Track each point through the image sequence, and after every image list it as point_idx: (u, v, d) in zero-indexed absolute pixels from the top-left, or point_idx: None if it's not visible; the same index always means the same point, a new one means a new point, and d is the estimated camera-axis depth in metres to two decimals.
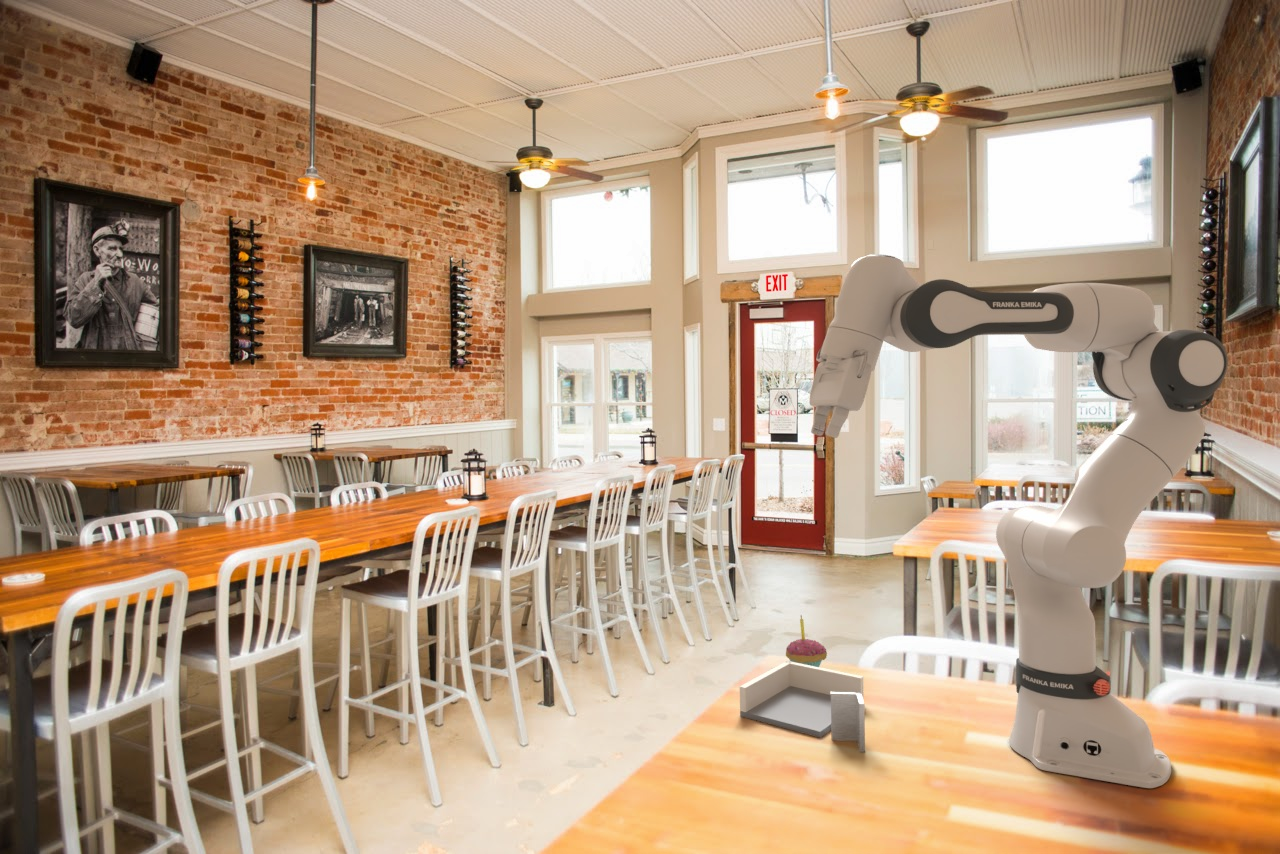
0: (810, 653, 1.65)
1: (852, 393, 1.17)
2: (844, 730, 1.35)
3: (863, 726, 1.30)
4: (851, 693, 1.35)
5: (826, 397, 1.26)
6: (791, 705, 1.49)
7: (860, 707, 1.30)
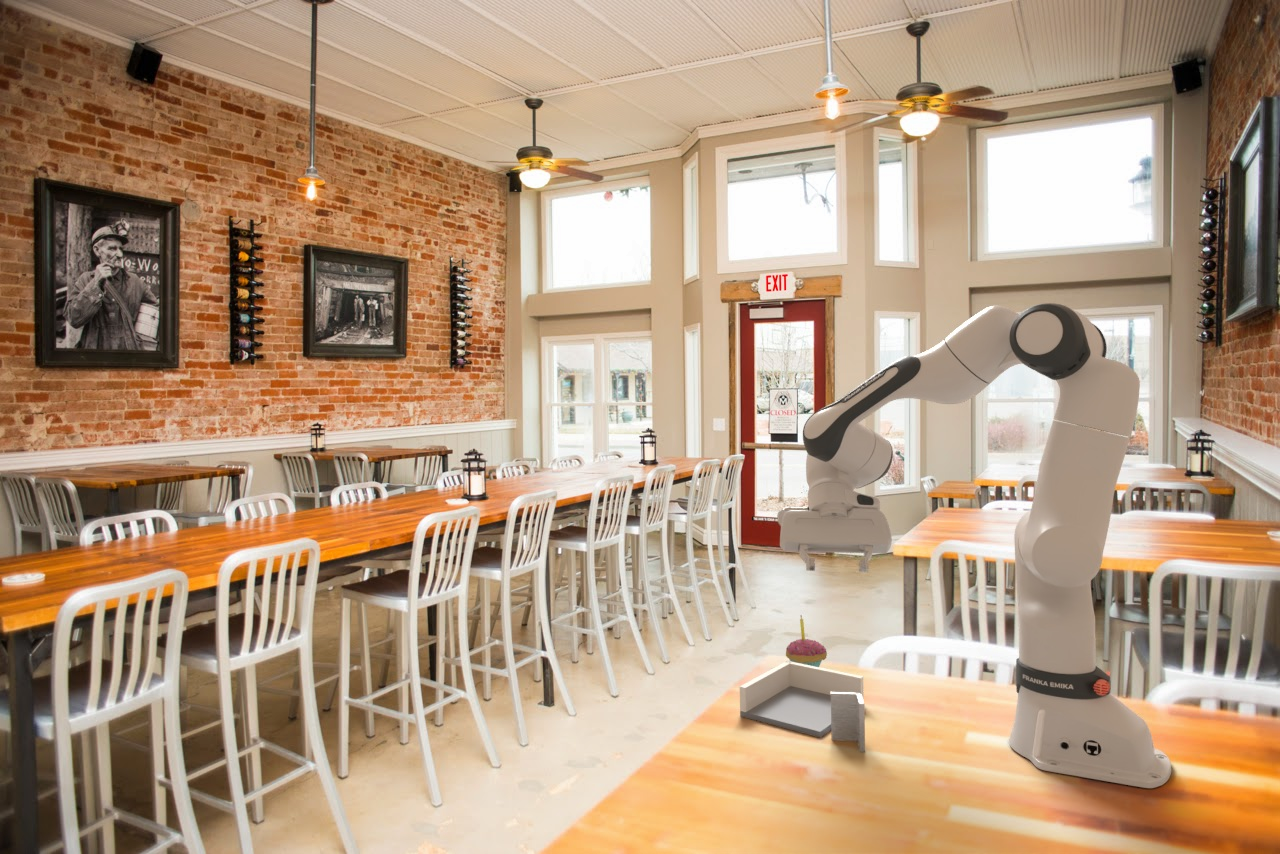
0: (810, 653, 1.65)
1: None
2: (844, 730, 1.35)
3: (863, 726, 1.30)
4: (851, 693, 1.35)
5: None
6: (791, 705, 1.49)
7: (860, 707, 1.30)
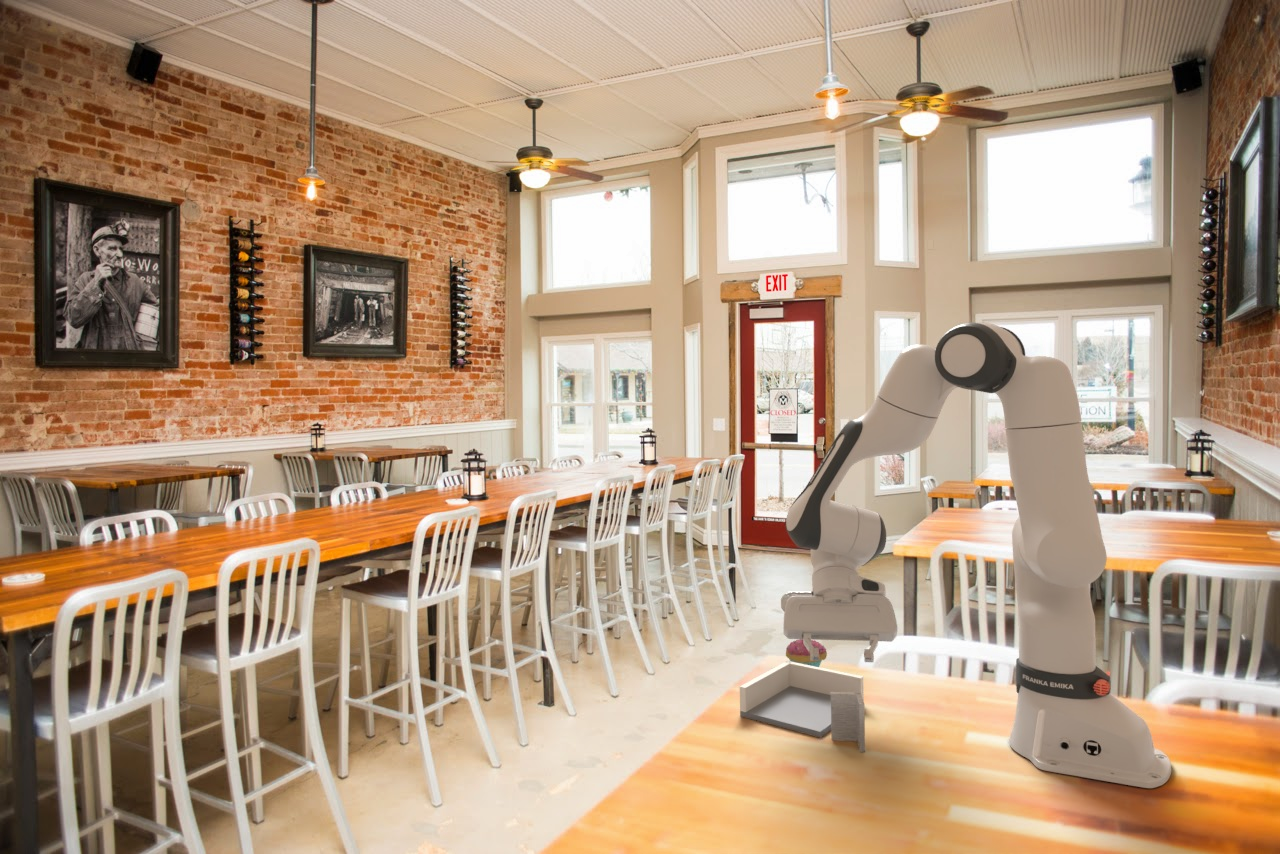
0: None
1: None
2: (844, 730, 1.35)
3: (863, 726, 1.30)
4: (851, 693, 1.35)
5: None
6: (791, 705, 1.49)
7: (860, 707, 1.30)
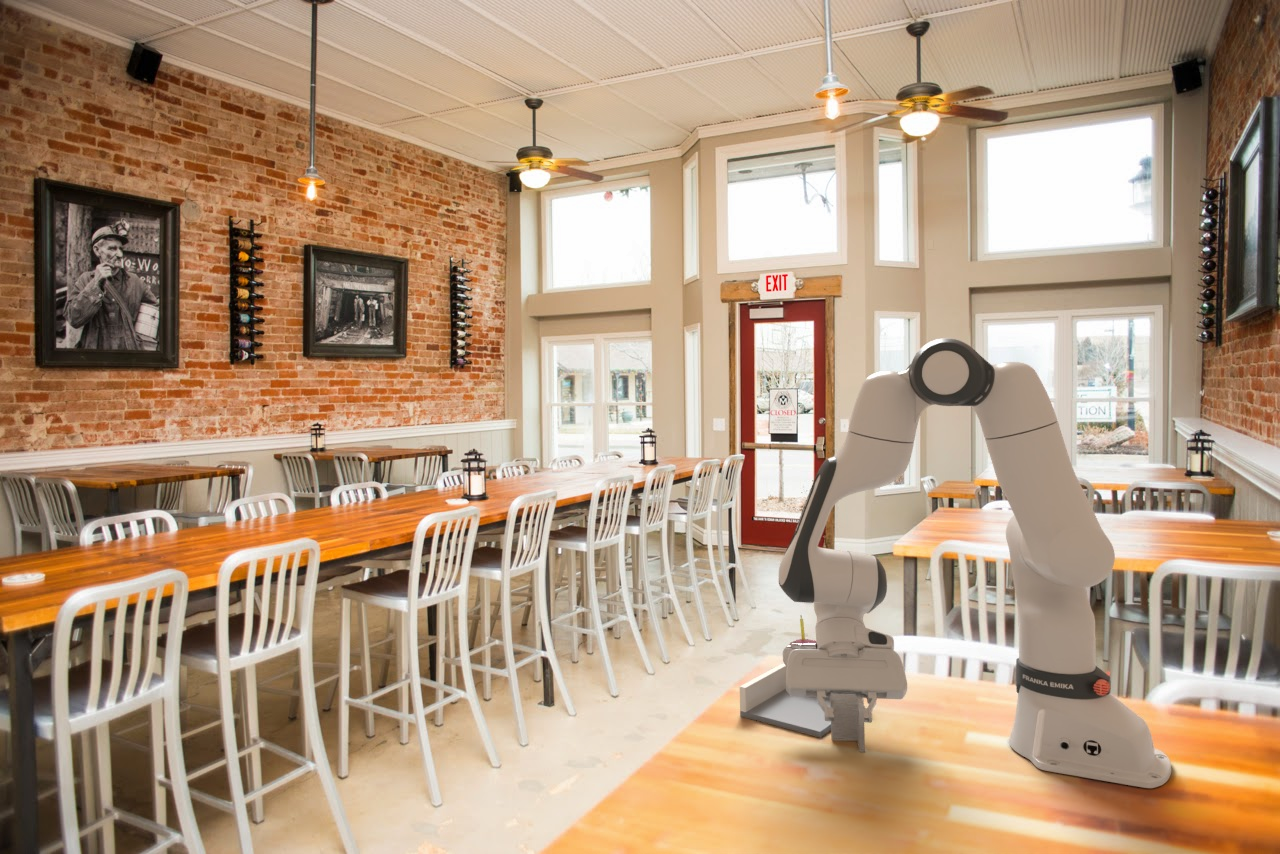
0: None
1: None
2: (844, 730, 1.35)
3: (863, 726, 1.30)
4: (850, 693, 1.35)
5: None
6: (791, 705, 1.49)
7: (859, 707, 1.30)
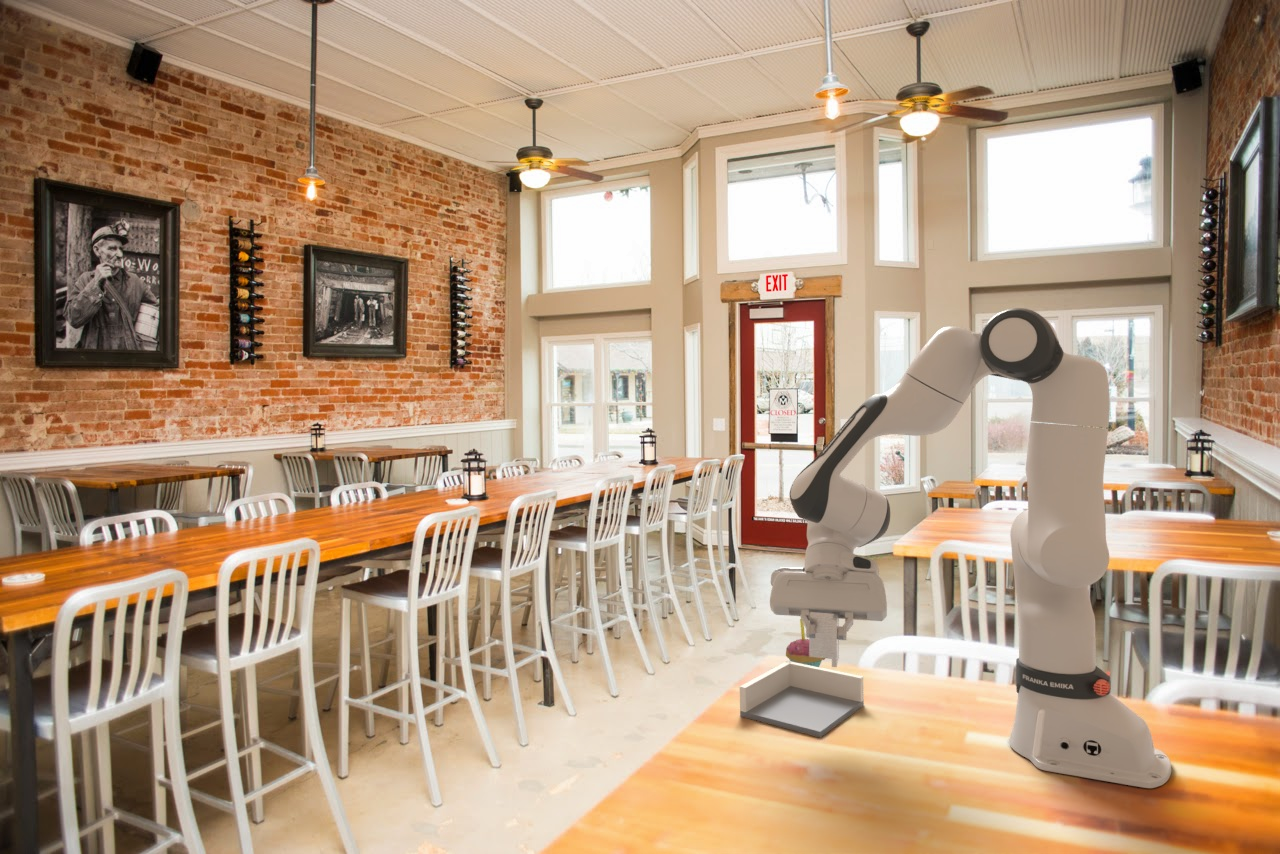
0: None
1: None
2: (821, 648, 1.40)
3: (835, 642, 1.35)
4: (829, 612, 1.40)
5: None
6: (791, 705, 1.49)
7: (833, 624, 1.35)
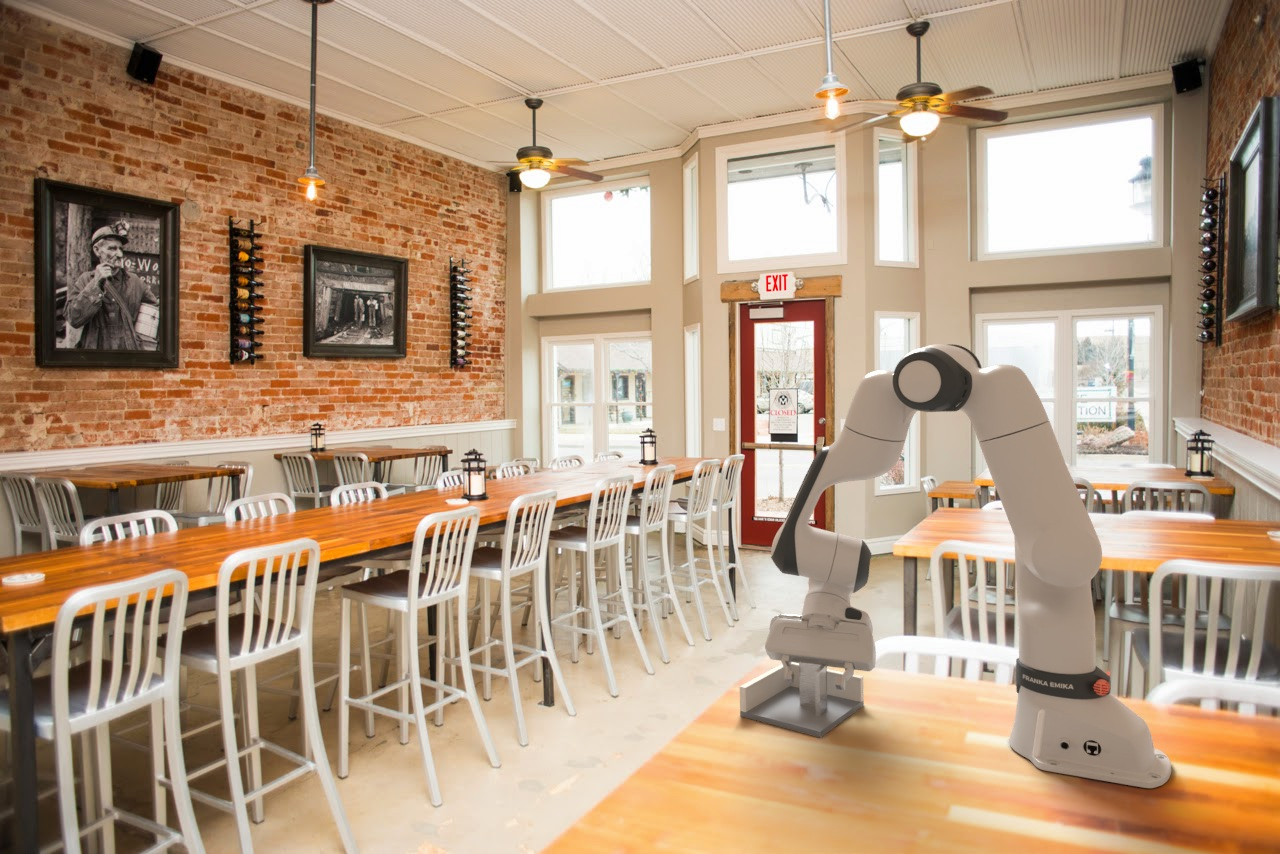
0: None
1: None
2: (810, 697, 1.48)
3: (818, 693, 1.43)
4: (817, 664, 1.47)
5: None
6: (791, 705, 1.49)
7: (815, 675, 1.43)
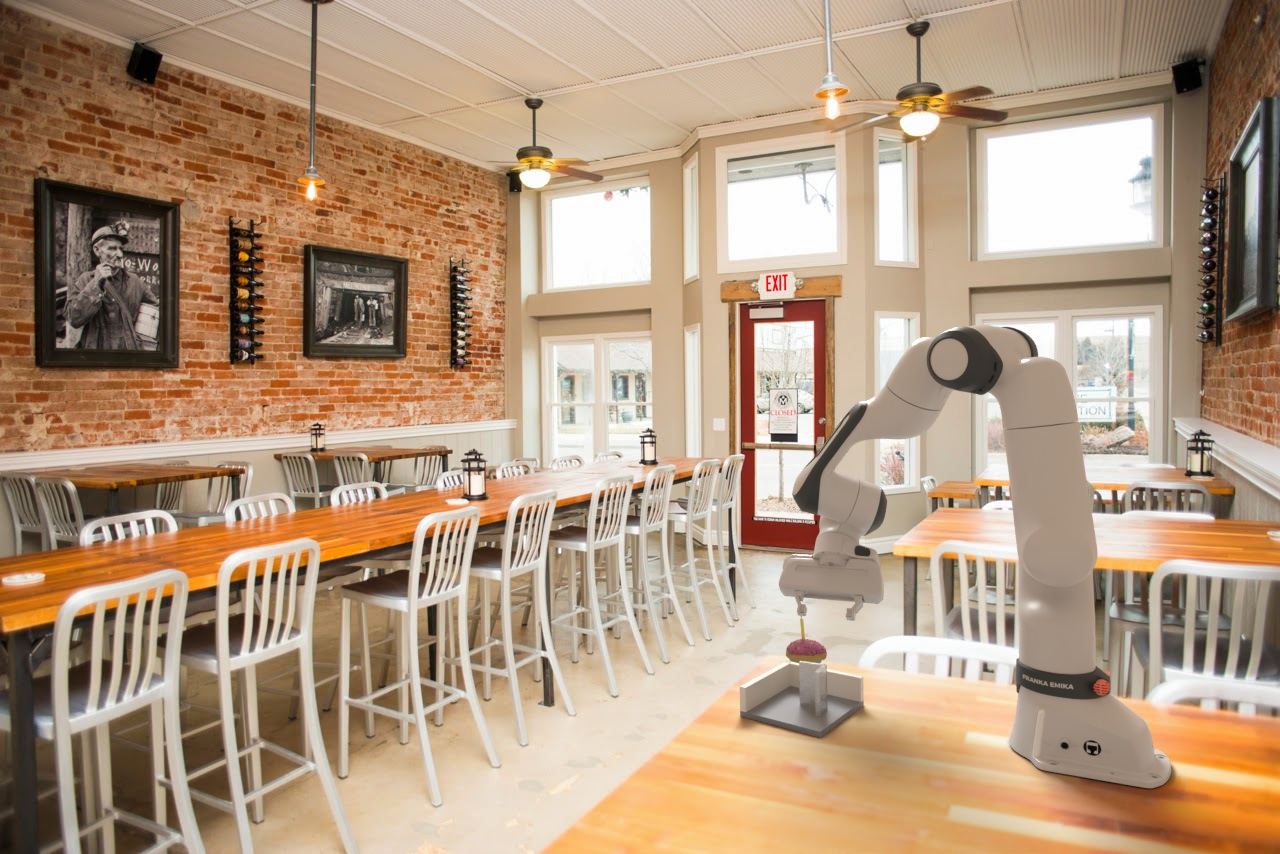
0: (810, 653, 1.65)
1: None
2: (810, 697, 1.48)
3: (818, 693, 1.43)
4: (817, 664, 1.47)
5: None
6: (791, 705, 1.49)
7: (815, 675, 1.43)
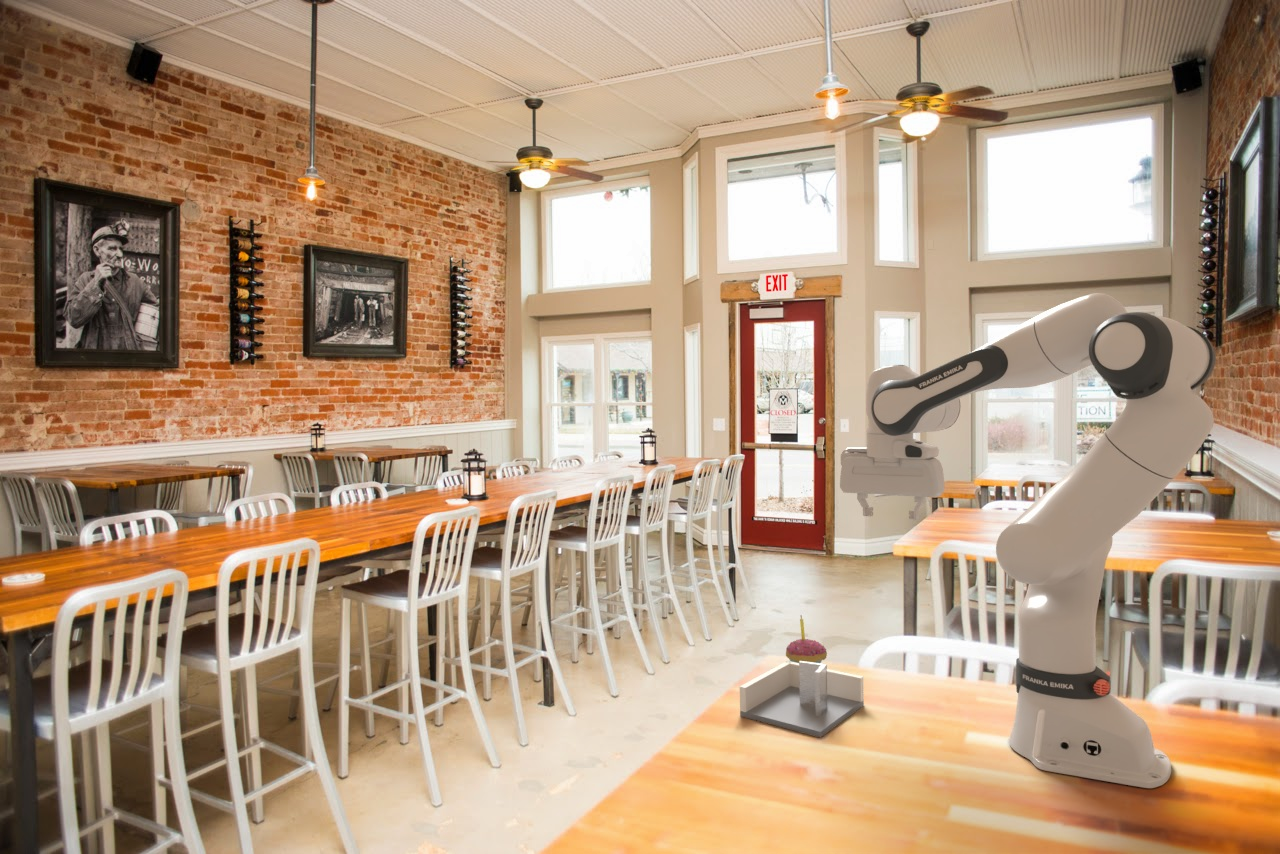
0: (810, 653, 1.65)
1: None
2: (810, 697, 1.48)
3: (818, 693, 1.43)
4: (817, 664, 1.47)
5: None
6: (791, 705, 1.49)
7: (815, 675, 1.43)
